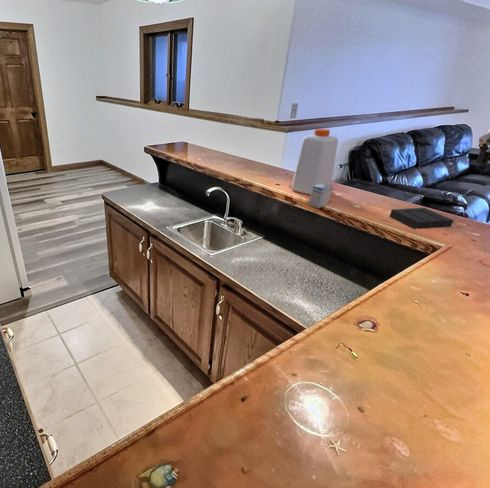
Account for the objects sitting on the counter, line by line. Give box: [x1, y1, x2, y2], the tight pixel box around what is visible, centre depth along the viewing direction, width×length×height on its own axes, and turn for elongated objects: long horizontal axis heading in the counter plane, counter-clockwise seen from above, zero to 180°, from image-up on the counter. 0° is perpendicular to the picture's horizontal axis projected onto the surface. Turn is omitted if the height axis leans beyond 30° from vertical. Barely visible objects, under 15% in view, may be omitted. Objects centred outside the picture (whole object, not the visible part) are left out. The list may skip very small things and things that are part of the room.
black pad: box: [407, 211, 443, 229], centre depth 131 cm, size 6×10×3 cm, turn 9°
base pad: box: [389, 207, 454, 230], centre depth 132 cm, size 15×13×3 cm
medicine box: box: [309, 183, 333, 209], centre depth 146 cm, size 8×4×9 cm, turn 130°
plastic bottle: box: [291, 128, 339, 196], centre depth 160 cm, size 15×15×28 cm
